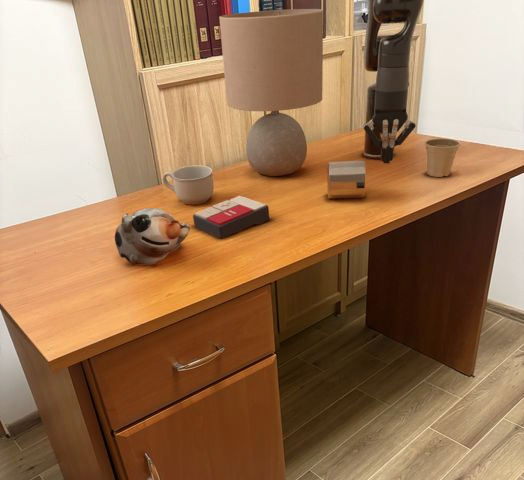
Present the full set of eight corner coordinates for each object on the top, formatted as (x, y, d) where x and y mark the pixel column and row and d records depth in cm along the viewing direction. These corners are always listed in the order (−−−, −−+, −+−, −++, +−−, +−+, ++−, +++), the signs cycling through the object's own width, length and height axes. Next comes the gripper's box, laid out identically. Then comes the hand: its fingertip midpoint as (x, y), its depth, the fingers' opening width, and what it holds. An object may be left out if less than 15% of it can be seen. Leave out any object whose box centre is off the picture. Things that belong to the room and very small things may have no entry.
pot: (360, 188, 146) (361, 154, 141) (365, 204, 136) (367, 168, 131) (326, 190, 147) (327, 156, 141) (329, 205, 137) (329, 169, 132)
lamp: (325, 158, 172) (326, 7, 148) (317, 185, 150) (318, 13, 127) (243, 159, 176) (232, 12, 153) (224, 185, 155) (208, 19, 131)
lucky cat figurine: (183, 238, 124) (193, 192, 113) (181, 279, 117) (192, 234, 106) (116, 227, 120) (120, 179, 109) (110, 268, 114) (114, 221, 102)
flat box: (191, 212, 128) (239, 192, 135) (194, 229, 130) (242, 209, 137) (219, 223, 121) (268, 202, 128) (221, 241, 123) (270, 219, 130)
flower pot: (452, 168, 156) (456, 137, 151) (458, 178, 148) (463, 146, 143) (419, 169, 157) (422, 138, 152) (423, 179, 149) (427, 147, 144)
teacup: (222, 196, 147) (219, 166, 143) (202, 209, 139) (199, 178, 135) (179, 191, 152) (175, 163, 148) (158, 204, 144) (153, 174, 140)
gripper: (417, 83, 129) (410, 157, 138) (361, 86, 129) (358, 159, 139) (423, 88, 122) (415, 165, 132) (365, 91, 123) (361, 168, 133)
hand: (386, 162), depth 136 cm, fingers closed
